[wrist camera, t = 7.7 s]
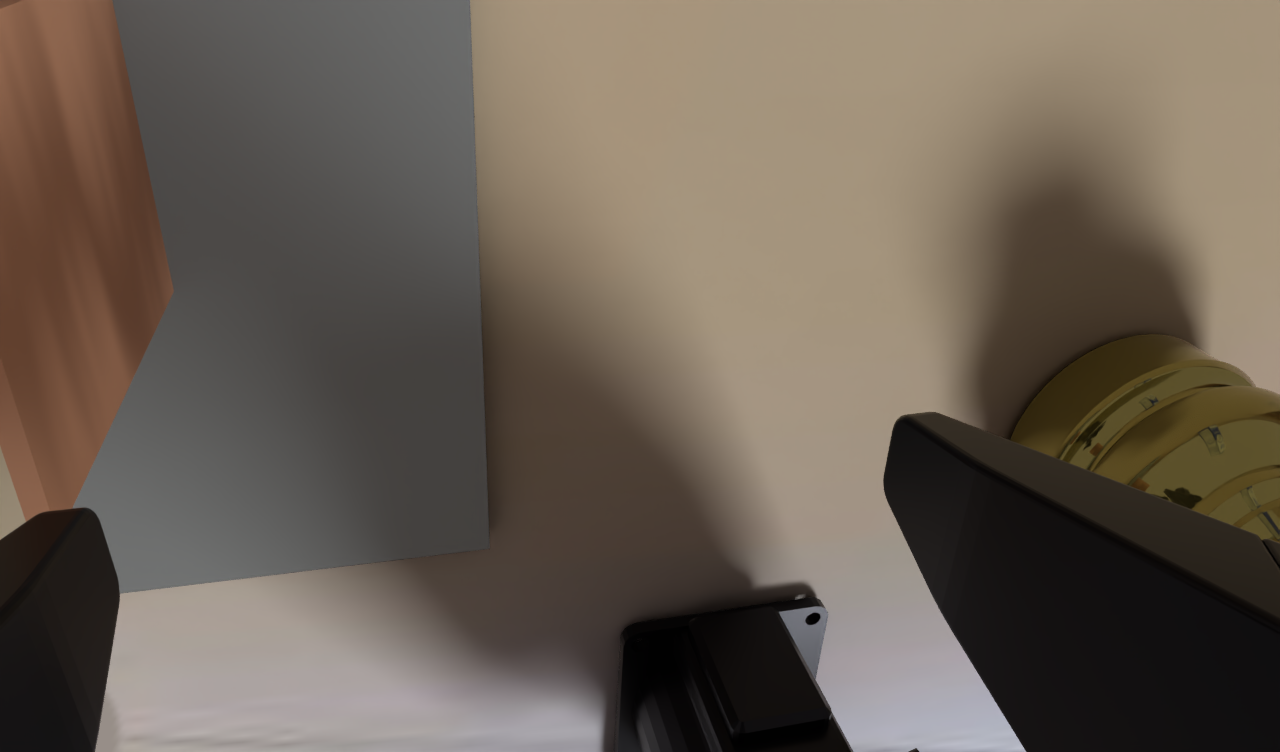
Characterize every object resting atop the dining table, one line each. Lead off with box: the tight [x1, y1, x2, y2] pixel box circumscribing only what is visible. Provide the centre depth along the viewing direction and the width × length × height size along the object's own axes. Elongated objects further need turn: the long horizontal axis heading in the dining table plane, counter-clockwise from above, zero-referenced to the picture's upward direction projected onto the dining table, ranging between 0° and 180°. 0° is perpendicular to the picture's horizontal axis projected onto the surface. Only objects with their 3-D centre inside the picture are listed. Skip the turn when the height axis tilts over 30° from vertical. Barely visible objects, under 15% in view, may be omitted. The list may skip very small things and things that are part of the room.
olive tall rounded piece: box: [1010, 334, 1280, 543], centre depth 24 cm, size 7×7×10 cm
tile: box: [0, 0, 174, 540], centre depth 13 cm, size 6×2×8 cm, turn 177°
